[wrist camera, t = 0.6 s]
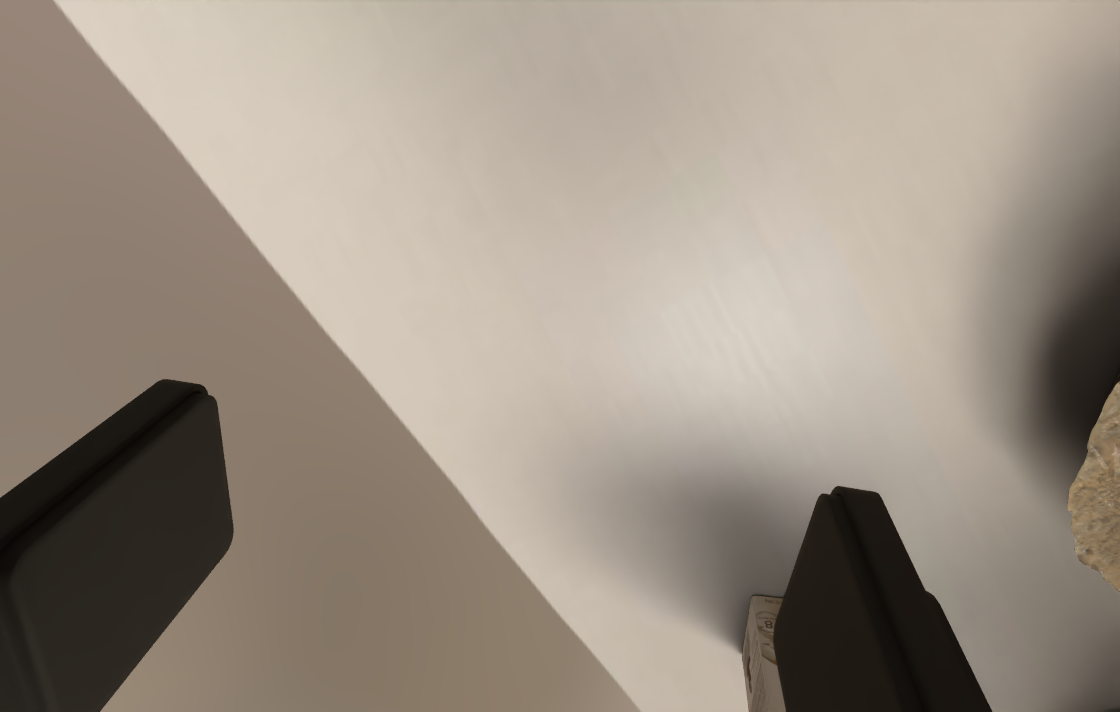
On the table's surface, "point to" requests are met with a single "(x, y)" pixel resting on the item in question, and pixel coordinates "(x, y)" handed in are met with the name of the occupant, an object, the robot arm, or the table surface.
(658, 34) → the table surface
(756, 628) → the coffee box
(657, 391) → the table surface
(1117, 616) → the table surface
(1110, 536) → the stone bowl
